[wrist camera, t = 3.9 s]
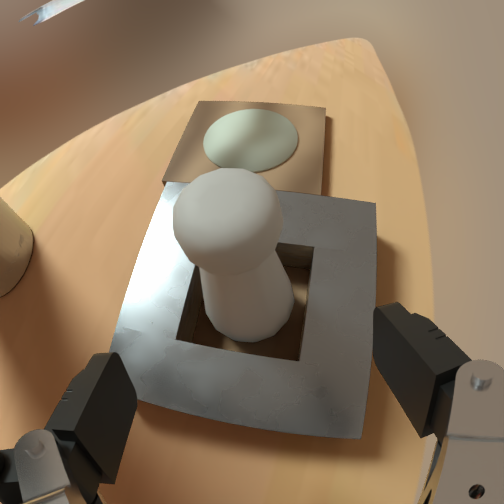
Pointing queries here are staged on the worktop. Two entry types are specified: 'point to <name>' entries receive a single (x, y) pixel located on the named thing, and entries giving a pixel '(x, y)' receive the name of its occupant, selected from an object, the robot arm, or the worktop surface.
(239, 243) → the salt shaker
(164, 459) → the worktop surface
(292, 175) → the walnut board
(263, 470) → the worktop surface
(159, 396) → the collar block
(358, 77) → the worktop surface
